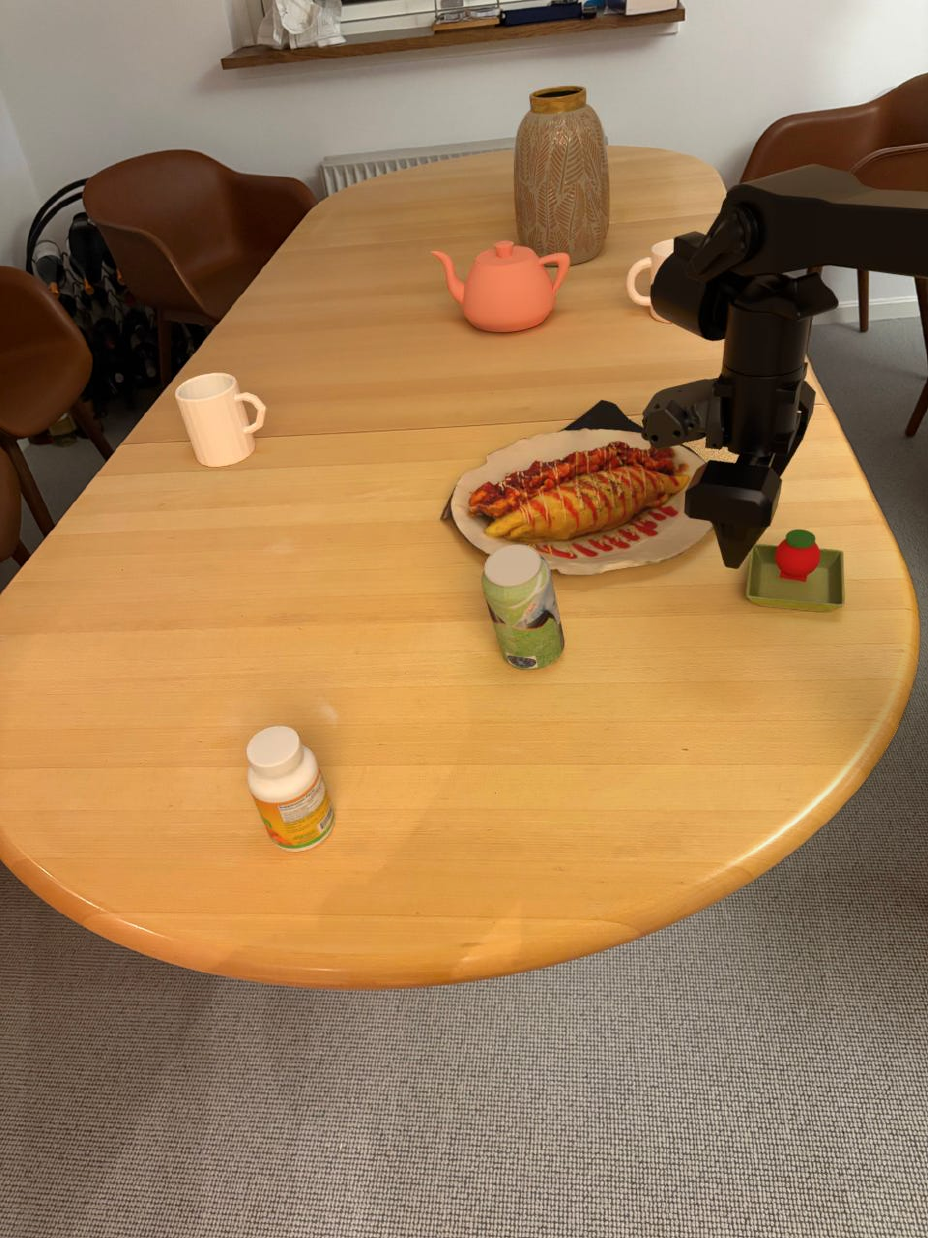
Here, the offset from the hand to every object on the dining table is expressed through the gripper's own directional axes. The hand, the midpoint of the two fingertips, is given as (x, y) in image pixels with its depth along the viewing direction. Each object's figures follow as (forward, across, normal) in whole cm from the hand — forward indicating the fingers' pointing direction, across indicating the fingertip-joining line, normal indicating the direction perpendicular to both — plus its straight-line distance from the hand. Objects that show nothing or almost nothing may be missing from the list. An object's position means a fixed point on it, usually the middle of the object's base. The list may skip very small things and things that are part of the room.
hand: (744, 535), depth 74 cm
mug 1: (+12, -17, -70) cm, 73 cm away
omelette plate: (+12, -18, -22) cm, 31 cm away
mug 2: (+12, -72, -27) cm, 78 cm away
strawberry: (+10, -9, +4) cm, 13 cm away
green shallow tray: (+12, -9, +4) cm, 15 cm away
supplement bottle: (+12, +33, -27) cm, 44 cm away
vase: (+11, -97, -54) cm, 111 cm away
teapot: (+11, -66, -52) cm, 85 cm away
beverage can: (+12, +9, -17) cm, 22 cm away
